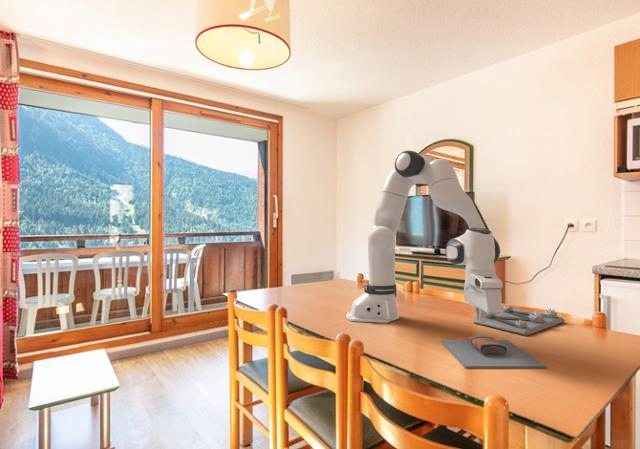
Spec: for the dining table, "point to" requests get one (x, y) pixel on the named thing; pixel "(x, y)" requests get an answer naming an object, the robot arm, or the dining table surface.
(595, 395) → the dining table surface
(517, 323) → the grey spiked board
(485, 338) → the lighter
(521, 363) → the mat
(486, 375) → the dining table surface
